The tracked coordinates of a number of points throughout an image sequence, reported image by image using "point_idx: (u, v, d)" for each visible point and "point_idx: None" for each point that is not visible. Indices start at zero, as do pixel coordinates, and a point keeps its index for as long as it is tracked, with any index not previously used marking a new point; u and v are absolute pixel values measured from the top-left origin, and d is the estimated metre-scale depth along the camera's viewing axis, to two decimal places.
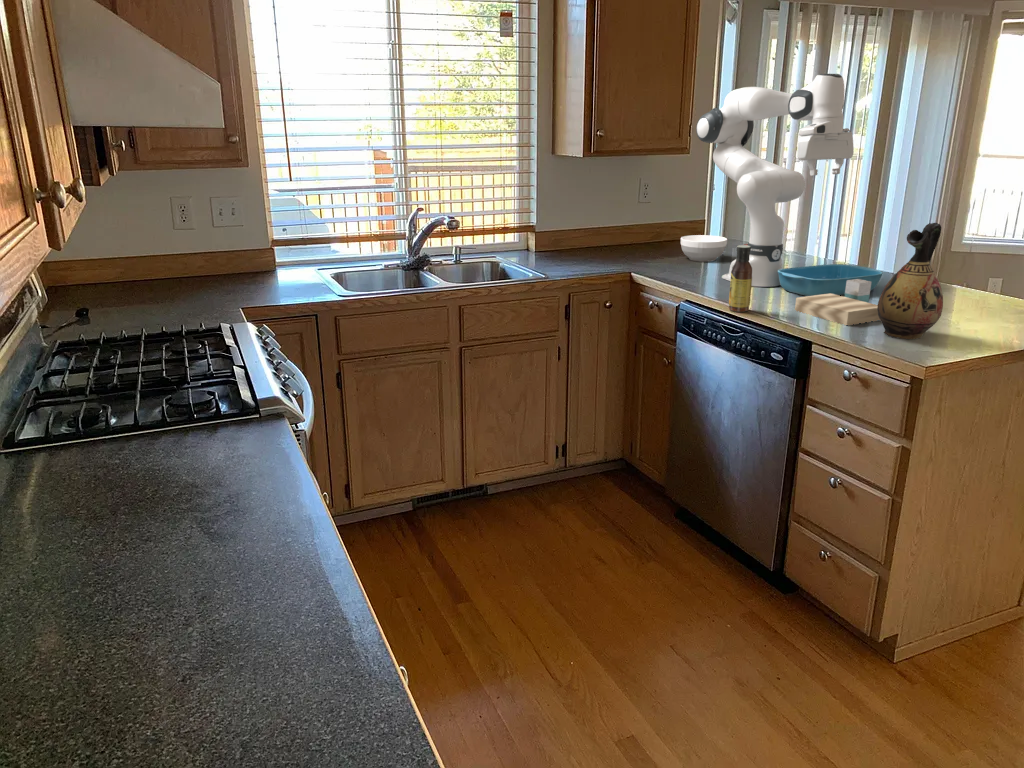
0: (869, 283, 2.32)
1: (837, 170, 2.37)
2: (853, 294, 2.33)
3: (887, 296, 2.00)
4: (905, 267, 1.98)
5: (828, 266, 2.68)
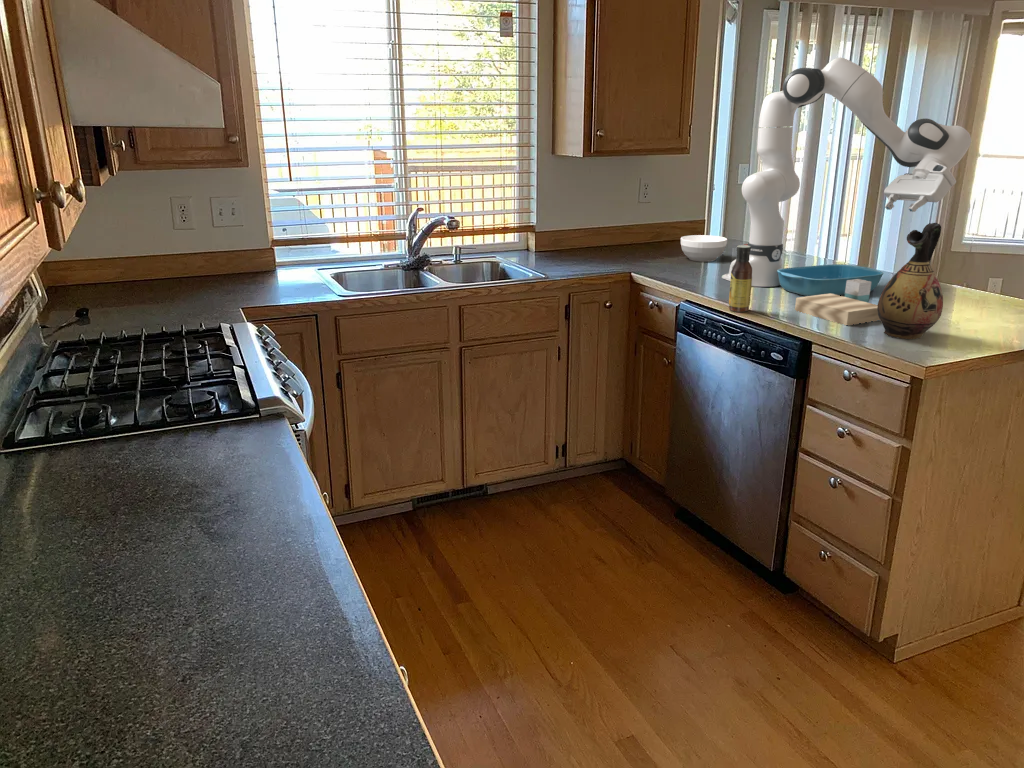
0: (869, 283, 2.32)
1: None
2: (853, 294, 2.33)
3: (887, 296, 2.00)
4: (905, 267, 1.98)
5: (830, 266, 2.68)
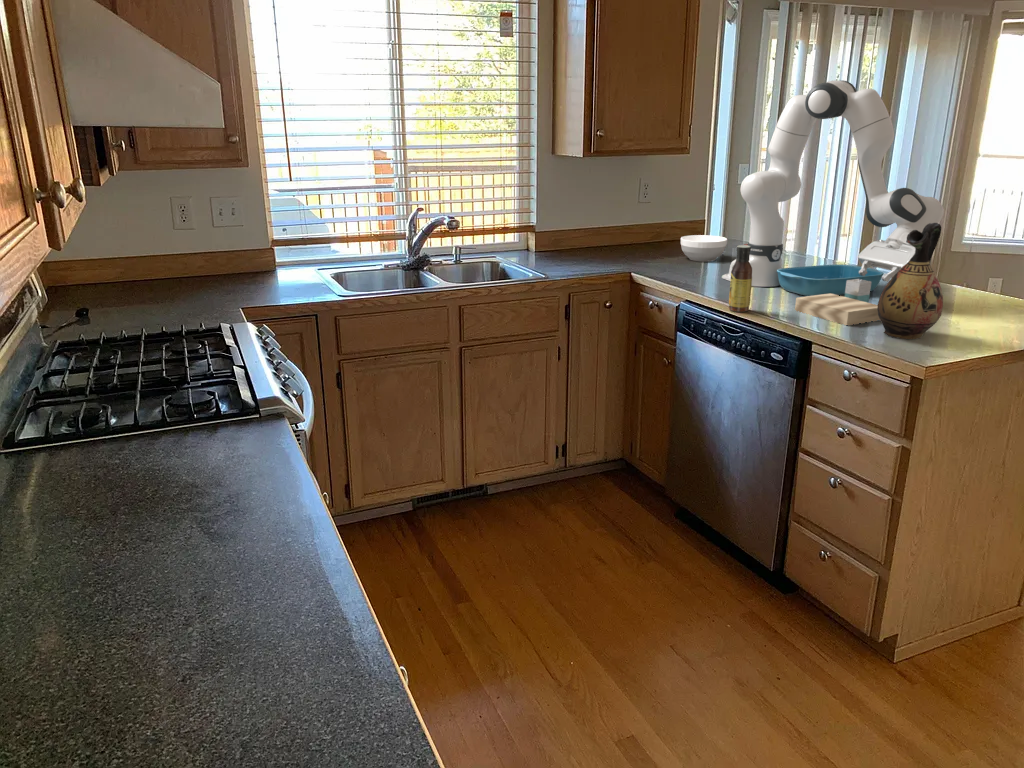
0: (869, 283, 2.32)
1: None
2: (853, 294, 2.33)
3: (887, 296, 2.00)
4: (905, 267, 1.98)
5: (831, 266, 2.68)
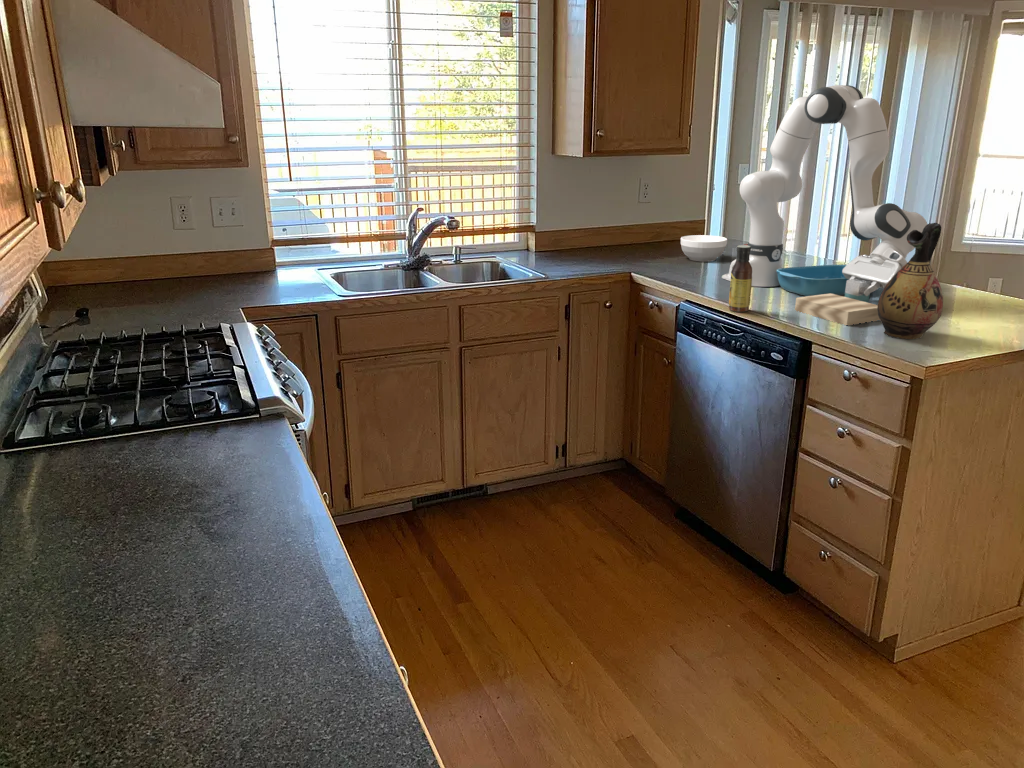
0: (869, 283, 2.32)
1: None
2: (853, 294, 2.33)
3: (887, 296, 2.00)
4: (905, 267, 1.98)
5: (832, 266, 2.68)
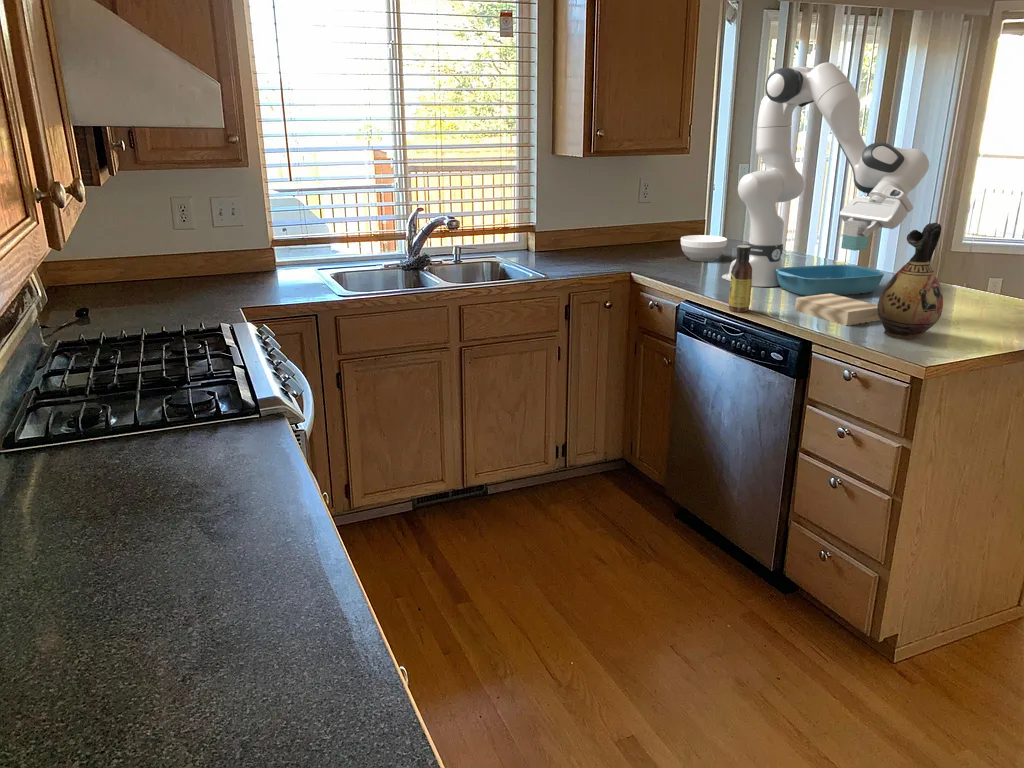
0: (868, 223, 2.19)
1: None
2: (852, 235, 2.20)
3: (887, 296, 2.00)
4: (905, 267, 1.98)
5: (834, 266, 2.68)
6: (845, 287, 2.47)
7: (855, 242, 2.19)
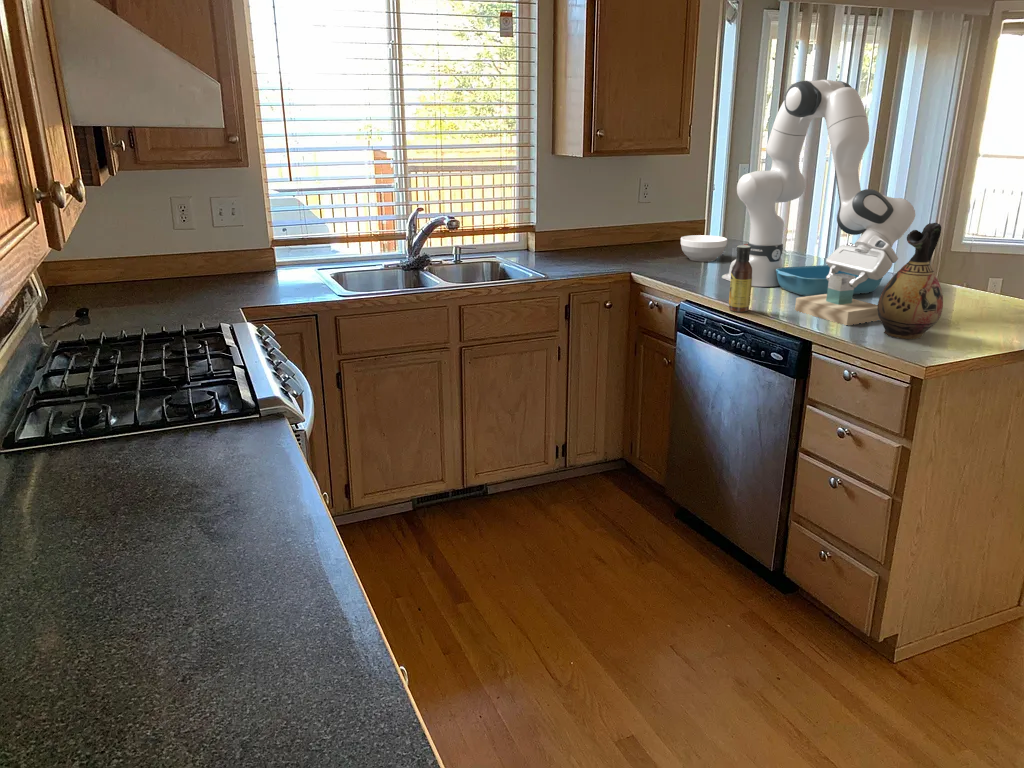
0: (853, 278, 2.20)
1: None
2: (836, 289, 2.21)
3: (887, 296, 2.00)
4: (905, 267, 1.98)
5: None
6: None
7: (839, 296, 2.20)
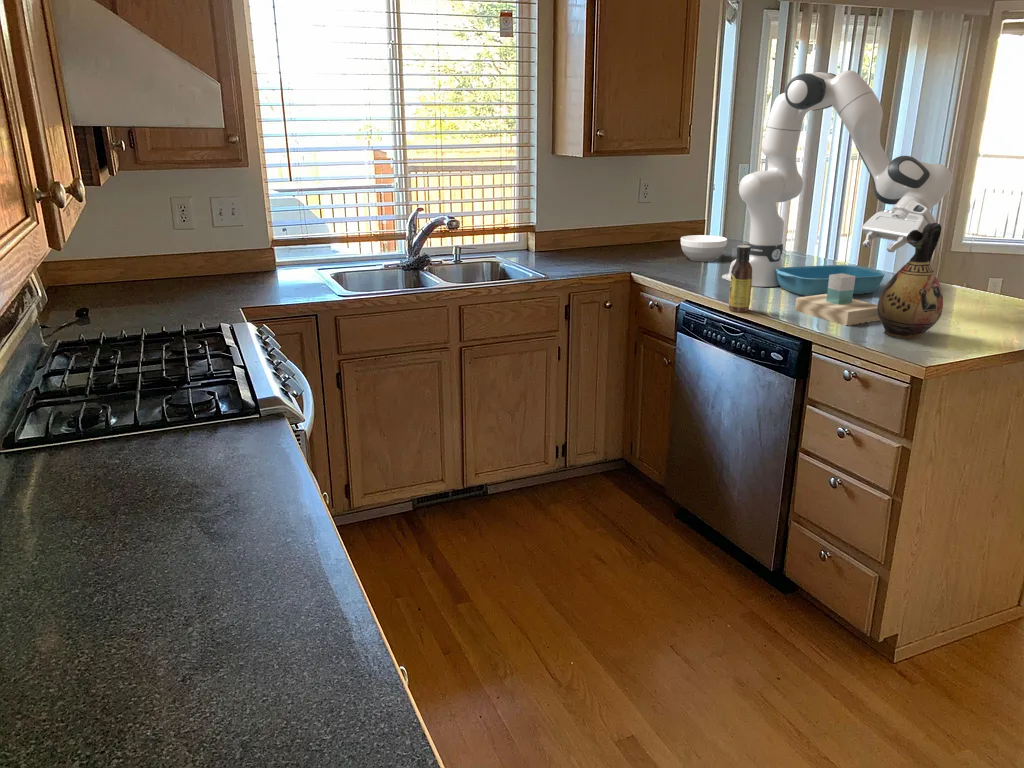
0: (853, 278, 2.20)
1: None
2: (836, 289, 2.21)
3: (887, 296, 2.00)
4: (905, 267, 1.98)
5: (836, 267, 2.67)
6: None
7: (839, 296, 2.20)
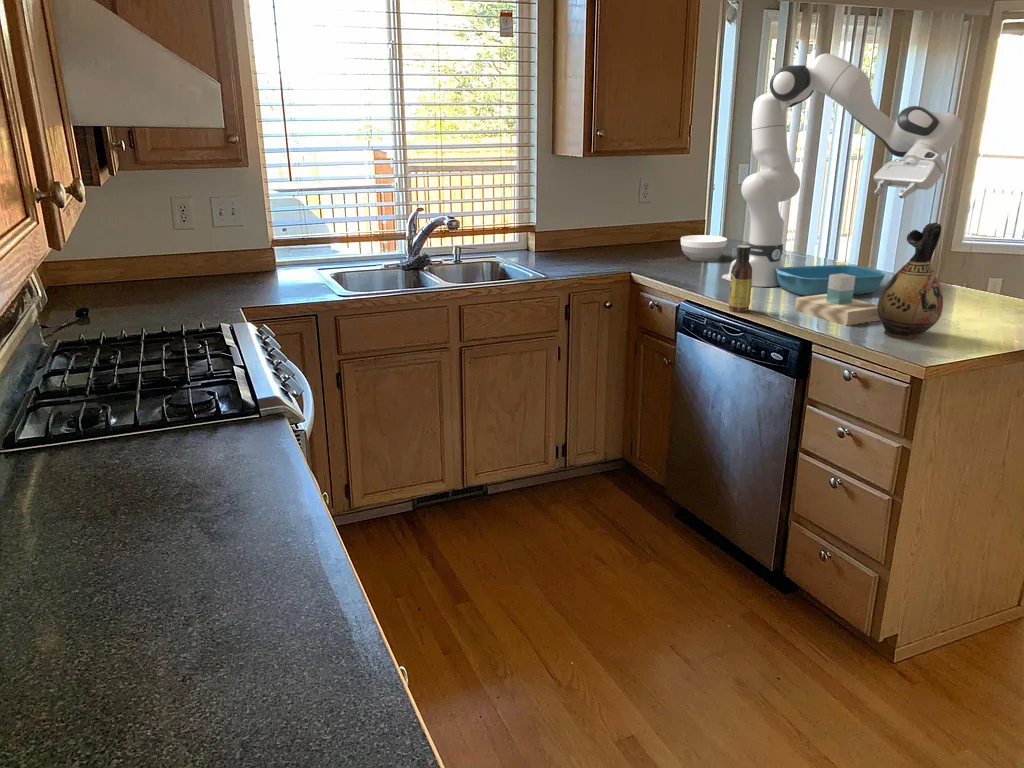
0: (853, 278, 2.20)
1: None
2: (836, 289, 2.21)
3: (887, 296, 1.99)
4: (905, 267, 1.98)
5: (836, 267, 2.67)
6: None
7: (839, 296, 2.20)
